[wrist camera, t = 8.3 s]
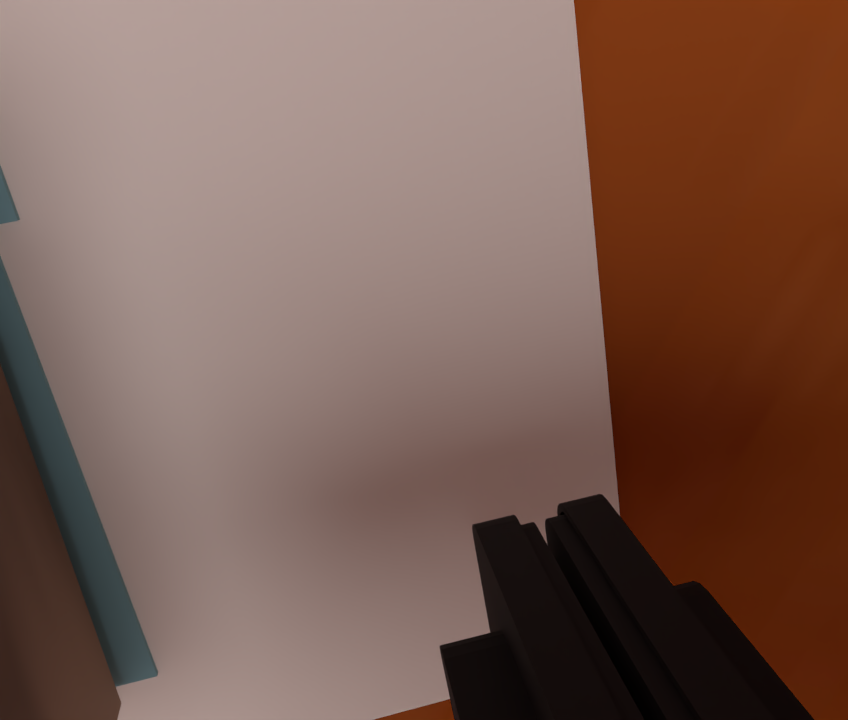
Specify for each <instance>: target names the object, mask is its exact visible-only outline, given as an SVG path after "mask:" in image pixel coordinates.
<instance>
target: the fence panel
mask: <svg viewBox="0 0 848 720" xmlns="http://www.w3.org/2000/svg"><path fill="white" fill-rule="evenodd" d="M120 707H121V701H120V698H119V695H118V692H117V689H116V687H115V684H114V681H113V678H112V675H111V673H110V670H109V667H108V664H107V661H106V659H105V656H104V653H103V650H102V647H101V645H100V642H99V639H98V636H97V633H96V631H95V628H94V625H93V622H92V619H91V616H90V614H89V611H88V608H87V605H86V602H85V600H84V597H83V594H82V591H81V588H80V586H79V583H78V580H77V577H76V574H75V572H74V569H73V566H72V563H71V560H70V558H69V555H68V552H67V549H66V546H65V544H64V541H63V538H62V535H61V532H60V530H59V527H58V524H57V521H56V518H55V516H54V513H53V510H52V507H51V504H50V502H49V499H48V496H47V493H46V490H45V488H44V485H43V482H42V479H41V476H40V474H39V471H38V468H37V465H36V462H35V459H34V457H33V454H32V451H31V448H30V445H29V443H28V440H27V437H26V434H25V431H24V429H23V426H22V423H21V420H20V417H19V415H18V412H17V409H16V406H15V403H14V401H13V398H12V395H11V392H10V389H9V387H8V384H7V381H6V378H5V375H4V373H3V370H2V367H1V364H0V720H117V718H118V715H119V711H120Z"/></svg>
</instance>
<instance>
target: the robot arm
mask: <svg viewBox="0 0 848 720" xmlns="http://www.w3.org/2000/svg"><path fill="white" fill-rule="evenodd" d="M545 531H546V538H547V543H546V542H545V540H544V538H543V536H542V534H541V533H540V531H539V529H538V527H537V525H536V524H535V523H534V522H530V523H526V524H522V525H521V524H520V522H519V520H518V519H517V517H516V516H515V515H510V516H506V517H501V518H497V519H493V520H489V521H485V522H481V523H477V524H473V525H472V532H473V539H474V544H475V550H476V556H477V561H478V567H479V572H480V578H481V584H482V589H483V595H484V600H485V606H486V612H487V617H488V623H489V628H490V633H487V634H483V635H479V636H475V637H471V638H467V639H463V640H459V641H456V642H452V643H448V644H444V645H440V653H441V658H442V663H443V668H444V672H445V677H446V682H447V687H448V692H449V696H450V701H451V705H452V710H453V714H454V719H455V720H814V719H813V718H812V716H811V715H810V714H809V713H808V712H807V710H806V709H805V708H804V707H803V706H802V704H801V703H800V702H799V701H798V700H797V698H796V697H795V696H794V695H793V693H792V692H791V691H790V690H789V689H788V687H787V686H786V685H785V684H784V683H783V681H782V680H781V679H780V678H779V677H778V675H777V674H776V673H775V672H774V670H773V669H772V668H771V667H770V666H769V664H768V663H767V662H766V661H765V660H764V658H763V657H762V656H761V655H760V653H759V652H758V651H757V650H756V649H755V647H754V646H753V645H752V644H751V643H750V641H749V640H748V639H747V638H746V637H745V635H744V634H743V633H742V632H741V630H740V629H739V628H738V627H737V626H736V624H735V623H734V622H733V621H732V620H731V618H730V617H729V616H728V615H727V614H726V612H725V611H724V610H723V609H722V607H721V606H720V605H719V604H718V603H717V601H716V600H715V599H714V598H713V597H712V595H711V594H710V593H709V592H708V591H707V590H706V589H705V588H704V587H703V586H702V585H701V584H700V583H697V582H694V581H692V582H688V583H684V584H680V585H676V586H673V585H672V584H671V583H670V581H669V580H668V579H667V577H666V576H665V575H664V573H663V572H662V571H661V569H660V568H659V567H658V566H657V564H656V563H655V562H654V560H653V559H652V558H651V556H650V555H649V554H648V552H647V551H646V550H645V549H644V547H643V546H642V545H641V543H640V542H639V541H638V539H637V538H636V537H635V535H634V534H633V533H632V532H631V530H630V529H629V528H628V526H627V525H626V524H625V522H624V521H623V520H622V518H621V517H620V516H619V514H618V513H617V512H616V511H615V509H614V508H613V507H612V505H611V504H610V503H609V501H608V500H607V499H606V498H605V497H604V496H603V495H602V494H597V495H593V496H589V497H584V498H580V499H576V500H572V501H568V502H564V503H560V504H559V505H558V508H557V516H555V517H551V518H547V519H546V520H545Z"/></svg>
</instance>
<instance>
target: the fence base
mask: <svg viewBox="0 0 848 720" xmlns="http://www.w3.org/2000/svg"><path fill="white" fill-rule="evenodd" d="M0 364H1V367H2V370H3V373H4V375H5V378H6V381H7V384H8V387H9V389H10V392H11V395H12V398H13V401H14V403H15V406H16V409H17V412H18V415H19V417H20V420H21V423H22V426H23V429H24V431H25V434H26V437H27V440H28V443H29V445H30V448H31V451H32V454H33V457H34V459H35V462H36V465H37V468H38V471H39V474H40V476H41V479H42V482H43V485H44V488H45V490H46V493H47V496H48V499H49V502H50V504H51V507H52V510H53V513H54V516H55V518H56V521H57V524H58V527H59V530H60V532H61V535H62V538H63V541H64V544H65V546H66V549H67V552H68V555H69V558H70V560H71V563H72V566H73V569H74V572H75V574H76V577H77V580H78V583H79V586H80V588H81V591H82V594H83V597H84V600H85V602H86V605H87V608H88V611H89V614H90V616H91V619H92V622H93V625H94V628H95V631H96V633H97V636H98V639H99V642H100V645H101V647H102V650H103V653H104V656H105V659H106V661H107V664H108V667H109V670H110V673H111V675H112V678H113V681H114V684H115V687H116V689H117V692H118V695H119V698H120V701H121V707H120V711H119V715H118V718H117V720H374V719H377V718H381V717H385V716H389V715H392V714H396V713H400V712H403V711H407V710H411V709H415V708H418V707H422V706H426V705H429V704H433V703H437V702H441V701H444V700H448V699H450V696H449V692H448V687H447V682H446V677H445V672H444V668H443V663H442V658H441V653H440V645H444V644H448V643H452V642H456V641H459V640H463V639H467V638H471V637H475V636H479V635H483V634H487V633H490V628H489V623H488V617H487V612H486V606H485V600H484V595H483V589H482V584H481V578H480V572H479V567H478V561H477V556H476V550H475V544H474V539H473V532H472V525H473V524H477V523H481V522H485V521H489V520H493V519H497V518H501V517H506V516H510V515H515V516H516V517H517V519H518V520H519V522H520V524H521V525H522V524H526V523H530V522H534V523H535V524H536V525H537V527H538V529H539V531H540V533H541V534H542V536H543V538H544V540H545V542H546V543H547V538H546V531H545V520H546V519H547V518H551V517H555V516H557V508H558V505H559V504H560V503H564V502H568V501H572V500H576V499H580V498H584V497H589V496H593V495H597V494H602V495H603V496H604V497H605V498H606V499H607V500H608V501H609V503H610V504H611V505H612V507H613V508H614V509H615V511H616V512H617V513H618V514H619V516H620V510H619V499H618V488H617V477H616V466H615V454H614V443H613V432H612V421H611V410H610V399H609V388H608V376H607V365H606V354H605V343H604V332H603V321H602V309H601V298H600V287H599V276H598V265H597V254H596V243H595V231H594V220H593V209H592V198H591V187H590V176H589V165H588V153H587V142H586V131H585V120H584V109H583V98H582V86H581V75H580V64H579V53H578V42H577V31H576V20H575V8H574V0H0Z"/></svg>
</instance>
